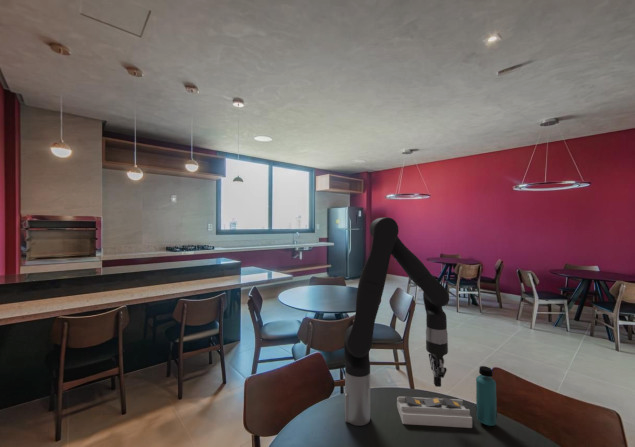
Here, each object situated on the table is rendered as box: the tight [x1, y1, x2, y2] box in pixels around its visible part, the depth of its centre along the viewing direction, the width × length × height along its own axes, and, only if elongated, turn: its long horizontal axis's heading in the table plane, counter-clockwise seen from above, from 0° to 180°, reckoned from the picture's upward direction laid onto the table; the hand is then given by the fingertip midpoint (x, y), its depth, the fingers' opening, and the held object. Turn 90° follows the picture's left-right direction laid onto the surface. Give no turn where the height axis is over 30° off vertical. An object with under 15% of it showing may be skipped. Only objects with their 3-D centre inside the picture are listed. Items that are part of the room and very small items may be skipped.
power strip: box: [396, 396, 473, 429], centre depth 106 cm, size 24×10×5 cm, turn 86°
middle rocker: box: [424, 396, 442, 408], centre depth 106 cm, size 5×4×1 cm
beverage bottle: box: [475, 365, 498, 427], centre depth 102 cm, size 6×7×20 cm
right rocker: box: [442, 396, 462, 409], centre depth 106 cm, size 5×4×1 cm
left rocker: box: [404, 395, 422, 407], centre depth 107 cm, size 5×4×1 cm
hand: (437, 385), depth 106 cm, fingers closed
